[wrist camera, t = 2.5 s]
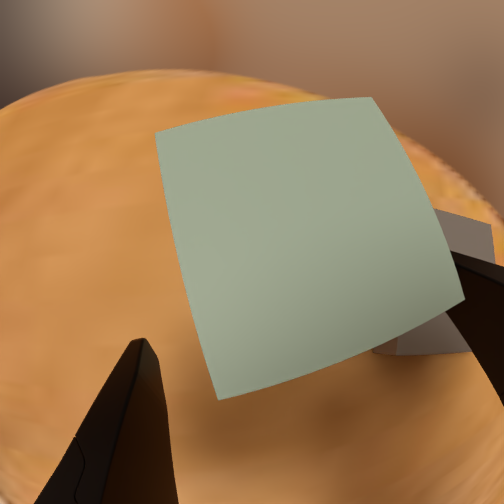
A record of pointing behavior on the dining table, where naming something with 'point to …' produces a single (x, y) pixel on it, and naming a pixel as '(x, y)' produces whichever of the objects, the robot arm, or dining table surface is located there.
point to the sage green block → (300, 238)
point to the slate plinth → (441, 327)
